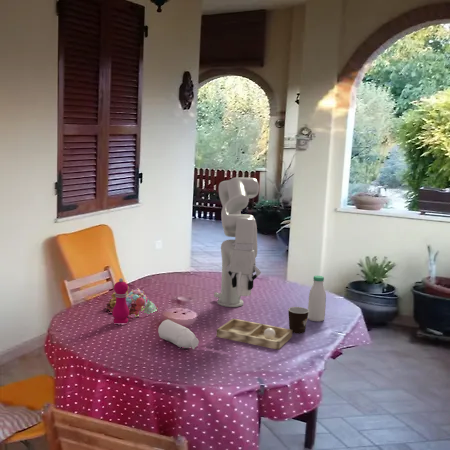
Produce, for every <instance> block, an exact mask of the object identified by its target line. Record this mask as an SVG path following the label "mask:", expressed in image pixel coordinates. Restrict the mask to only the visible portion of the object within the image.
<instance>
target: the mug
mask: <svg viewBox="0 0 450 450" xmlns="http://www.w3.org/2000/svg"><path fill="white" fill-rule="evenodd" d="M248 281H249V277H248V275H244V274H242V272H239V274H237V276H236V294H237V295H239V296H241V297H249V296H251V295H252V289H251V290H248Z"/></svg>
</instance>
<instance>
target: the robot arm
mask: <svg viewBox="0 0 450 450" xmlns="http://www.w3.org/2000/svg"><path fill="white" fill-rule="evenodd" d="M259 193H260V184H259V181H258V180H257V178H254V177H242V176H241V177H239V176H238V177H237V176H236V177H232V178H231V179H228V180H223V181H221V182H219V184H218V197H219V200H220V203H221V206H222V209H221V214H220V216H221V224H222V225H221V226H222V229H223V232H224V235H225V236H226V237H229V238H234V239H226V240H223V241H222V243H221V244H220V252H221V253H220V254H221V283H220V285H221V287H220V288H221V290H220V292H213V297H214V298H218V300H217V304H218V305H219V306H222V307H226V308H237V307H238V308H239V307H242V306H243V305H244V300H243V299H241V297H242V296H239V295H237V294H236V276H237V274H239V272H242V274H244V275H248V277H249V281H248V290H251V291H252V289H253V288H254V280H255V279H256V278H258V277H259V276H260V275H261V274H262V271H261V270H259V268H258V267H257V265H256V263H257V262H256V259H257V257H258V229H257V228H258V226H257V221H256V219H255V217H254V215H252V214H247V213H245V214H243V213H241V212H242V210H244V209H245V208H247V206H248V205H249V199H254V198H256V197H257V196H258V194H259Z"/></svg>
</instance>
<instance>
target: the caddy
mask: <svg viewBox="0 0 450 450" xmlns="http://www.w3.org/2000/svg"><path fill="white" fill-rule="evenodd" d="M267 328H272V329H273V330H274V331H275V334H276V335H275V338H274V339H272V340H270V339H266V338H265V337H264V331H265V330H266V329H267ZM292 331H293V330H291V329H289V328H285V327H279V326H274V325H269V324H264V323H258V322H252V321H249V320H248V321H247V320H243V319H237V318H231V319H229V320H228V321H227V322H225V323H224V324H223V325H221V326H220V327H218V328H217V329H216V337H217V338H219V339H220V338H222V339H226V340H230V341H234V342H239V343H240V342H241V343H245V344H249V345H255V346H259V347H264V348H269V349H273V350H277V351H278V350H279V351H280V349H281V348H283V346H284V345H286V344H287V343H288V341H290V339H291V338H293V333H292Z"/></svg>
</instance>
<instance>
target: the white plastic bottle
mask: <svg viewBox="0 0 450 450" xmlns="http://www.w3.org/2000/svg"><path fill="white" fill-rule="evenodd" d="M157 331H158V337H159V338H160V339H163V340H165V341H166V342H170V343H172V344H174V345H176V346H177V347H179V348H180V349H182V348H181V347H184V348H183V349H190V348H191V349H192V350H196V349H195V348H196V347H198V346H199V343H200V341H199V339H198V338H197V337H196V334H195V333H194V332H193V331H191V329H189V328H188V327H185V326H184V325H181V324H179V323H177V322H174V321H173V320H171V319H165V320H163V321H162V322H161V323H160V324H159V326H158V330H157Z"/></svg>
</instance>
